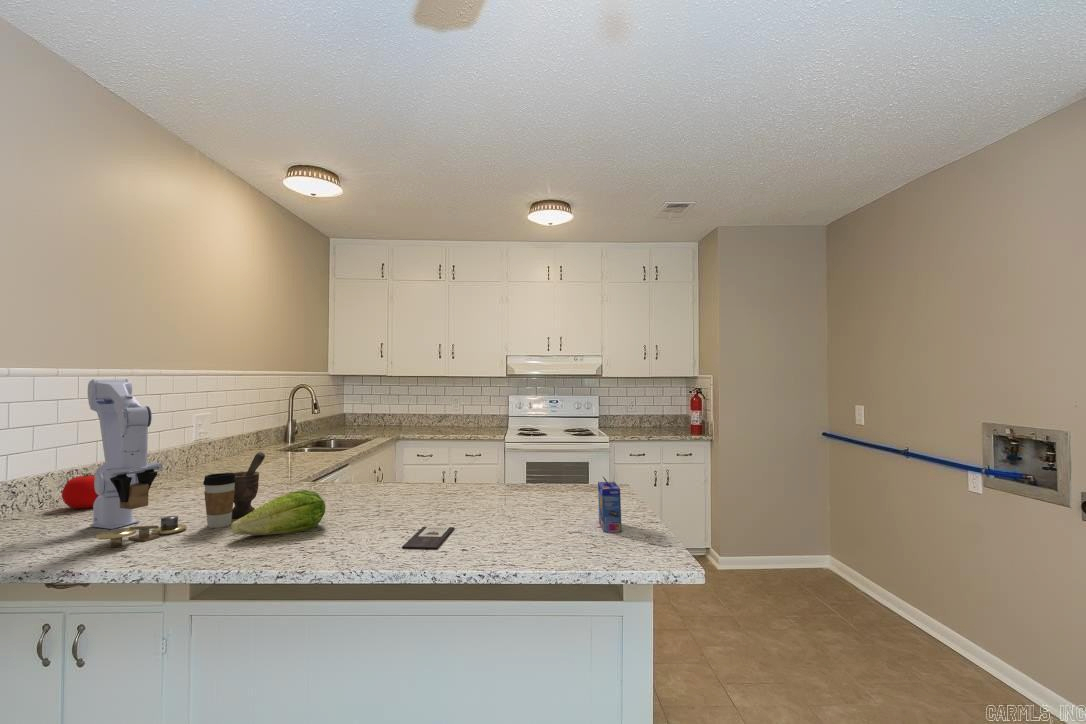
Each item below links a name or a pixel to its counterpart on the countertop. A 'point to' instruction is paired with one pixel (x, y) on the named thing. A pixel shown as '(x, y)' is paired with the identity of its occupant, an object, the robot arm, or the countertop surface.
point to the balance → (142, 531)
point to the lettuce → (283, 515)
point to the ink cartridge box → (609, 506)
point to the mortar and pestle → (246, 488)
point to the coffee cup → (219, 498)
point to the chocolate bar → (428, 538)
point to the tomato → (80, 492)
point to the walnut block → (136, 496)
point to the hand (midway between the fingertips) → (133, 499)
